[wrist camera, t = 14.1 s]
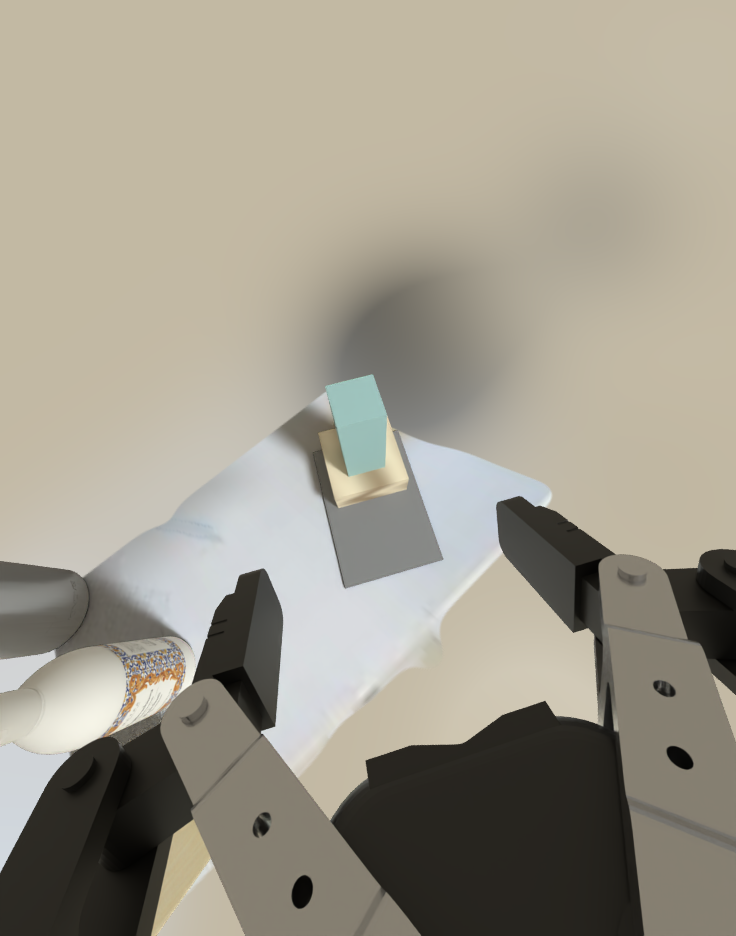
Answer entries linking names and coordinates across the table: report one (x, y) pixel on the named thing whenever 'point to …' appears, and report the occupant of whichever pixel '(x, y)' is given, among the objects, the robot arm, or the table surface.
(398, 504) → the mat
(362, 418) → the pillar
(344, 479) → the base block
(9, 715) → the bath foam
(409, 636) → the table surface
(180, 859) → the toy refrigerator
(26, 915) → the robot arm
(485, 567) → the table surface
